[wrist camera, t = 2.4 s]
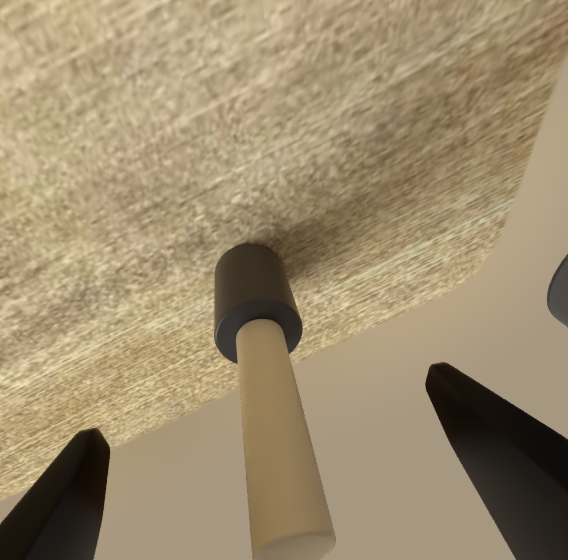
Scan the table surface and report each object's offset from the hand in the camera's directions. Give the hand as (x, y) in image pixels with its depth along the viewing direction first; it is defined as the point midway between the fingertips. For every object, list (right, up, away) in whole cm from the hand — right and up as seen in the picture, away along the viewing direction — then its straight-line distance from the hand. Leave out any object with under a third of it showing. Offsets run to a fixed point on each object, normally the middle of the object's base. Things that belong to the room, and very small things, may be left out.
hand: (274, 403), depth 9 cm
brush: (-1, +4, +5) cm, 7 cm away
